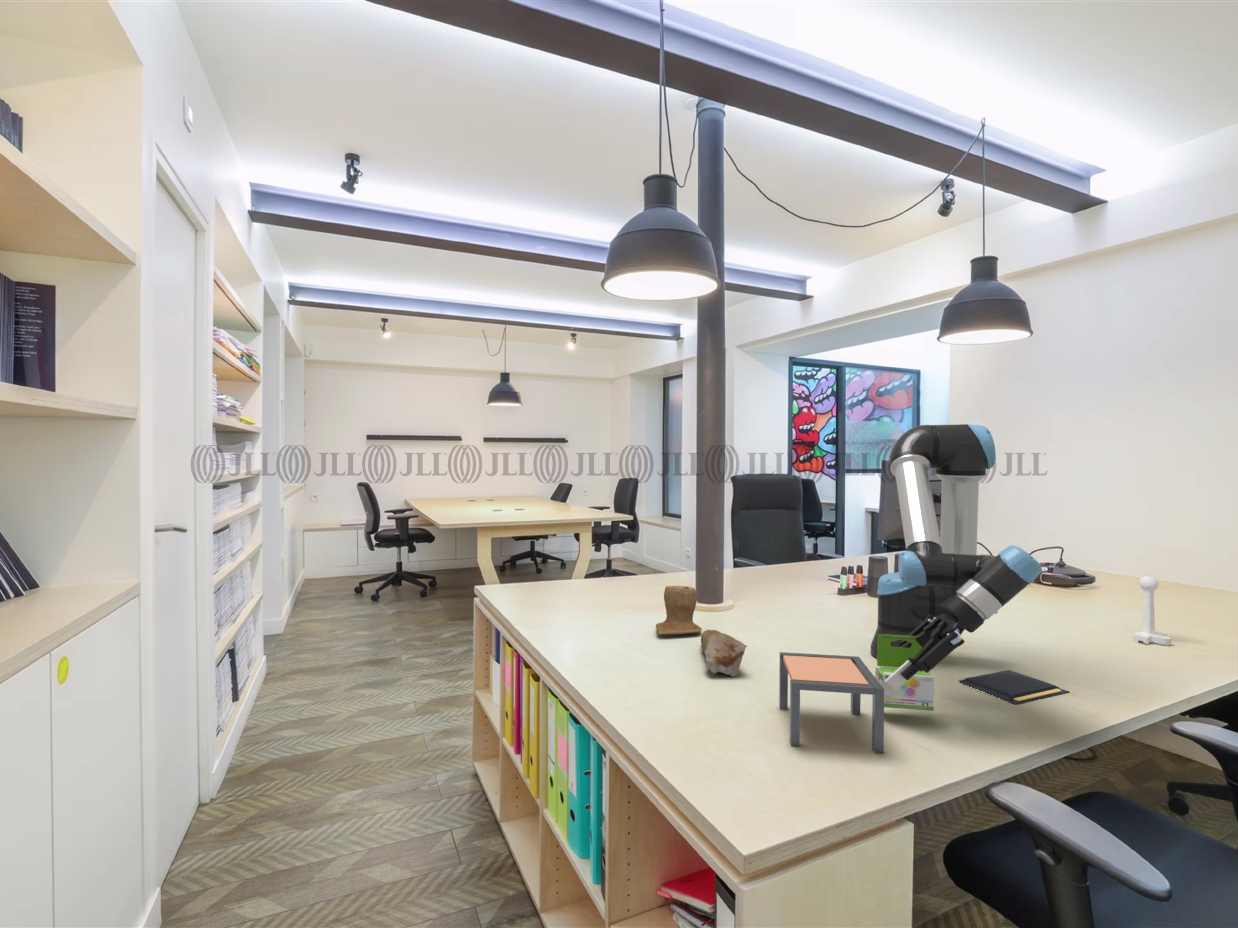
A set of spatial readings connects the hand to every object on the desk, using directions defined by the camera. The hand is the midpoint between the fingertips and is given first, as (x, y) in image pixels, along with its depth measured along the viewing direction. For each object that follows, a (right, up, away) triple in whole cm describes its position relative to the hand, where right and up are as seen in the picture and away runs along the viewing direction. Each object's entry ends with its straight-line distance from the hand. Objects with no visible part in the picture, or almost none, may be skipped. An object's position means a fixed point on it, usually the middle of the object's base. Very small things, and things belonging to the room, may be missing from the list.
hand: (885, 680), depth 122 cm
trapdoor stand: (-15, -8, -5) cm, 18 cm away
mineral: (-30, -8, +34) cm, 46 cm away
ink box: (+4, -5, 0) cm, 6 cm away
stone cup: (-39, -8, +59) cm, 71 cm away
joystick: (+107, -9, +53) cm, 120 cm away
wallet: (+39, -9, +17) cm, 43 cm away
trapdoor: (-15, +4, -5) cm, 17 cm away
